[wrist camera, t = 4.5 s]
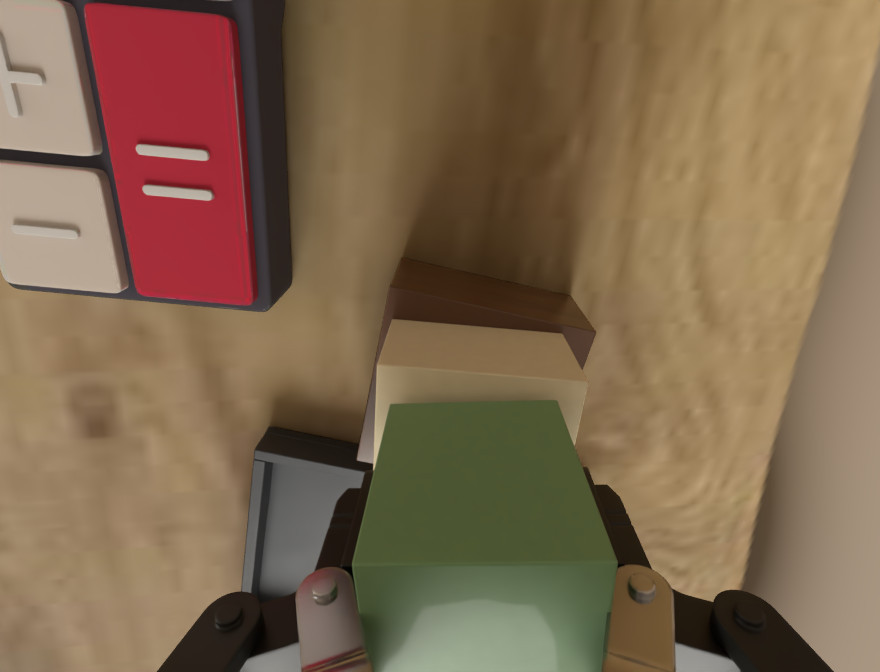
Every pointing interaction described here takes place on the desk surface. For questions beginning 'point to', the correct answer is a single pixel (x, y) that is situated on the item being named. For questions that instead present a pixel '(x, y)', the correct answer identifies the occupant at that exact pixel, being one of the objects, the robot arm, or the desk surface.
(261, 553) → the tray
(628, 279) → the desk surface
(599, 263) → the desk surface
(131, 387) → the desk surface
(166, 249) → the calculator
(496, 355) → the cream block
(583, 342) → the walnut block
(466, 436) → the green block
